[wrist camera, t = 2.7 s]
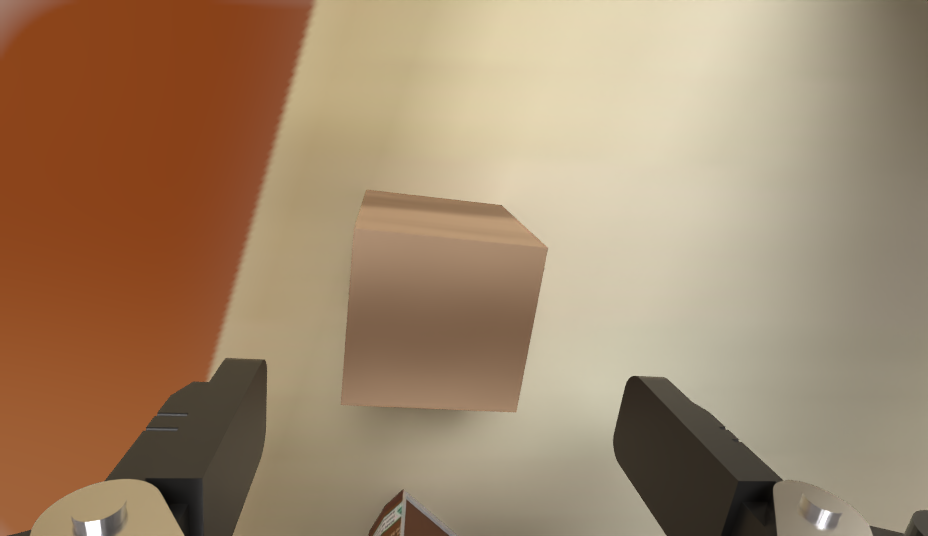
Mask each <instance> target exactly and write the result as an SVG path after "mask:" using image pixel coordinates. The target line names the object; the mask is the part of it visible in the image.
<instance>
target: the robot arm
mask: <svg viewBox="0 0 928 536" xmlns="http://www.w3.org/2000/svg"><path fill="white" fill-rule="evenodd" d="M266 397H267V365H266V361H265V360H260V359H236V358H226V359H225V360H224V361H223V362H222V364H221V365H220V367H219V368H218V370H217V371H216V373H215V374H214V376H213V377H212V379H211V380H210V382H192V383H190V384H189V385H187V386H185V387H184V388H182V389H181V390H179V391H177V392H176V393H174V394H173V395H171V396H170V397H169V399H168V400H167V401H166V402H165V404H164V405H163V406H162V408H161V409H160V410H159V412H158V414H157V416H155V417H154V418H153V419H152V420H151V422H150V423H149V425H148V426H147V427H146V431H143V432H142V433H141V435H140V436H139V437H138V439H137V440H136V441H135V443H134V444H133V445H132V446H131V448H130V449H129V450H128V452H127V453H126V454H125V455H124V457H123V458H122V459H121V461H120V462H119V463H118V464H117V466H116V467H115V468H114V470H113V471H112V472H111V474H110V475H109V476H108V478H107V479H106V480H105V481H104V482H100V483H96V484H93V485H90V486H87V487H85V488H82V489H79V490H77V491H75V492H73V493H71V494H69V495H67V496H65V497H64V498H62V499H60V500H59V501H57V502H56V503H55V504H53V505H52V506H50V507H49V508H48V509H47V510H46V511H45V512H44V513H43V514H42V515H41V516H40V517H39V518H38V520H37V521H36V522H35V524H34V526H33V528H32V530H29V531H25V532H21V533H18V534H14V535H9V536H232V535H233V532H234V530H235V527H236V524H237V522H238V519H239V516H240V513H241V511H242V508H243V505H244V503H245V500H246V497H247V494H248V492H249V489H250V486H251V484H252V481H253V478H254V475H255V473H256V470H257V467H258V465H259V462H260V459H261V456H262V452H263V447H264V441H265V433H266ZM613 445H614V452H615V456H616V459H617V461H618V463H619V465H620V466H621V468H622V469H623V471H624V472H625V474H626V475H627V477H628V478H629V480H630V481H631V483H632V484H633V486H634V487H635V489H636V490H637V492H638V493H639V495H640V496H641V498H642V499H643V501H644V502H645V504H646V505H647V507H648V508H649V510H650V511H651V513H652V514H653V516H654V517H655V519H656V520H657V522H658V523H659V525H660V526H661V528H662V529H663V531H664V532H665V534H666V535H667V536H928V510H920V511H917V512H915V513H914V514H913V516H912V518H911V520H910V523H909V525H908V527H907V529H906V531H905V534H903V533H899V532H894V531H890V530H886V529H881V528H877V527H873V526H869V524H868V522H867V521H866V520H865V518H864V517H863V516H862V515H861V514H860V513H859V512H858V511H857V510H856V509H855V508H853V507H852V506H851V505H850V504H848V503H847V502H845V501H844V500H842V499H841V498H839V497H837V496H836V495H834V494H832V493H830V492H828V491H826V490H824V489H822V488H819V487H817V486H814V485H811V484H808V483H804V482H800V481H793V480H785V481H783V480H782V479H781V478H780V477H779V476H778V475H777V474H776V473H775V472H774V471H773V470H771V469H770V468H769V467H768V466H767V465H766V464H765V463H764V462H763V461H762V460H761V459H759V458H758V457H757V456H756V455H755V454H754V453H753V452H752V451H751V450H750V449H749V448H748V447H746V446H745V445H744V444H743V443H742V442H739V441H738V438H737V437H736V436H734V435H733V434H732V433H731V432H730V431H729V430H725V426H724V425H723V424H721V423H720V422H719V421H718V420H717V419H716V418H715V417H714V416H713V415H712V414H711V413H709V412H708V411H706V410H705V409H703V408H701V407H700V406H698V405H696V404H694V403H693V402H691V401H690V400H689V399H688V398H687V397H686V396H685V395H684V394H683V393H682V392H681V391H680V390H679V389H678V388H677V387H675V386H674V385H673V384H672V383H671V382H670V381H669V380H668V379H667V378H664V377H646V376H632V377H630V378H629V380H628V381H627V383H626V386H625V390H624V394H623V398H622V402H621V407H620V411H619V415H618V419H617V423H616V427H615V432H614V438H613Z"/></svg>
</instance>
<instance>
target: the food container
mask: <svg viewBox="0 0 928 536" xmlns="http://www.w3.org/2000/svg"><path fill="white" fill-rule="evenodd" d="M369 536H458V535H457V534H455V533H454V532H453V531H452V530H451V529H449V528H448V527H447V526H446V525H445V524H444V523H442V522H441V521H440V520H439V519H438V518H437V517H435V516H434V515H433V514H432V513H431V512H430V511H428V510H427V509H426V508H425V507H424V506H423V505H421V504H420V503H419V502H418V501H417V500H415V499H414V498H413V497H412V496H411V495H410V494H408V493H407V492H406V491H405V490H404V489H403V490H402V491H401V492H400V493H399V494H398V495H396V496H395V497H394V498H393V499H392V500H391V501H390V502H389V503H388V504H387V505H385V507H384V509H383V510H382V512H381V513H380V515H379V517H378V518H377V520H376V521H375V523H374V525H373V526H372V528H371V530H370V532H369Z"/></svg>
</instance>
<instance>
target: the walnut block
mask: <svg viewBox="0 0 928 536" xmlns="http://www.w3.org/2000/svg"><path fill="white" fill-rule="evenodd" d="M547 250H548V248H547V247H546V246H545V245H544V244H543V243H542V242H541V241H540V240H539V239H538V238H537V237H535V236H534V235H533V234H532V233H531V232H530V231H529V230H528V229H527V228H526V227H525V226H523V225H522V224H521V223H520V222H519V221H518V220H517V219H516V218H515V217H514V216H513V215H511V214H510V213H509V212H508V211H507V210H506V209H505V208H504V207H503V206H502V205H495V204H486V203H477V202H468V201H460V200H451V199H442V198H434V197H425V196H416V195H407V194H399V193H390V192H381V191H372V190H366V192H365V196H364V199H363V202H362V205H361V208H360V211H359V214H358V217H357V220H356V224H355V227H354V235H353V248H352V262H351V275H350V288H349V302H348V315H347V329H346V342H345V355H344V369H343V382H342V396H341V405H356V406H379V407H403V408H427V409H450V410H474V411H498V412H516V411H517V405H518V400H519V395H520V390H521V385H522V379H523V374H524V369H525V364H526V359H527V354H528V348H529V343H530V338H531V333H532V328H533V323H534V317H535V312H536V307H537V302H538V297H539V292H540V286H541V281H542V276H543V271H544V266H545V261H546V255H547Z"/></svg>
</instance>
